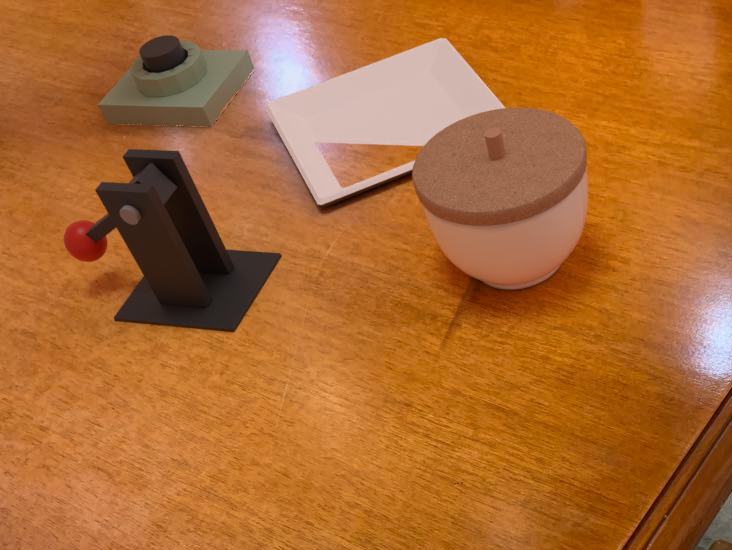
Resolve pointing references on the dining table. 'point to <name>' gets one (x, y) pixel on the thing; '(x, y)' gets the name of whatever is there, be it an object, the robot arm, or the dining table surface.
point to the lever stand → (180, 252)
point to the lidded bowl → (505, 194)
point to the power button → (162, 54)
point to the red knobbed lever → (110, 220)
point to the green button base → (178, 89)
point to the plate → (378, 112)
